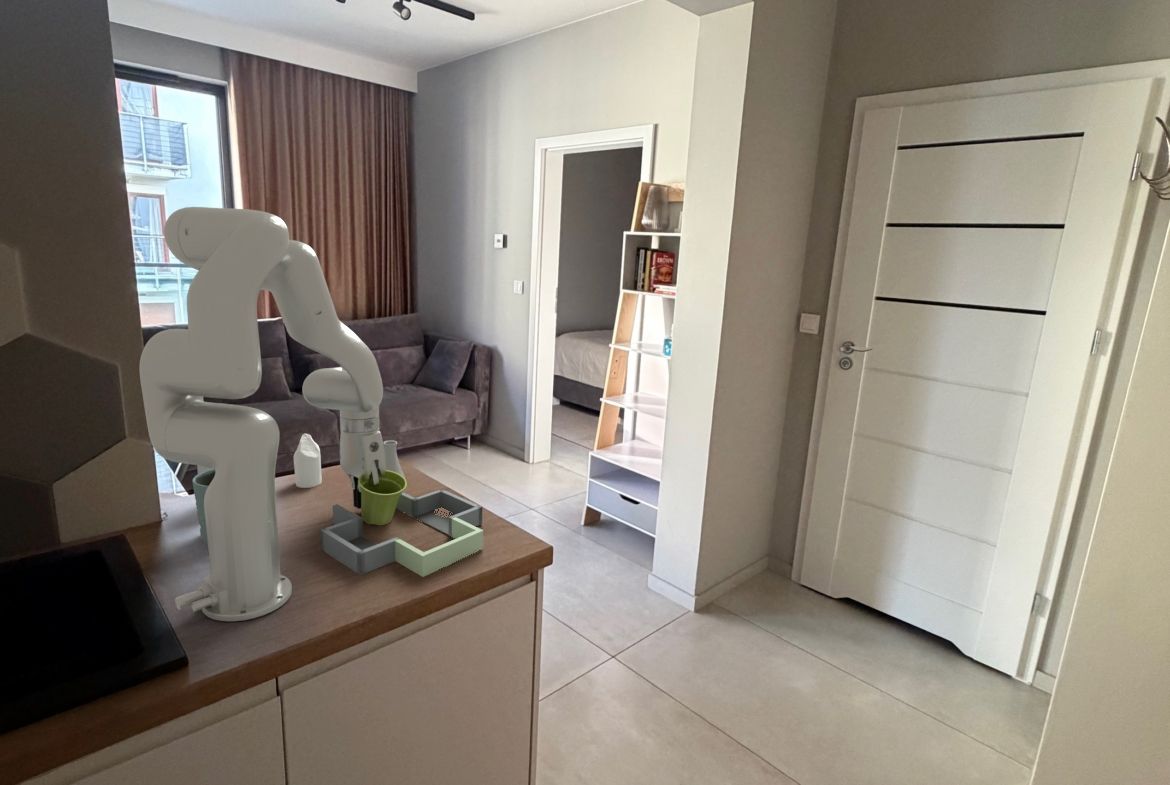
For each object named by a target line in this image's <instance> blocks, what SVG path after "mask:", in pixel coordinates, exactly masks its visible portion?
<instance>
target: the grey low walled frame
mask: <svg viewBox="0 0 1170 785" xmlns="http://www.w3.org/2000/svg"><path fill="white" fill-rule="evenodd" d="M441 507H442V508H444V509H446V510H448V511H450V512H449V515H450V513H451V512H452V513H453V514H452V513H451V515H452V516H451V515H450V516H449V515H448V516H449V517H447V518H446V517H445V516H444V517H445V518H444V517H441V516H442V515H440V516H438V515H439V514H438V515H435V514H437V513H438V511H439V509H438V508H441ZM397 509H398V510H397ZM435 509H438V511H437V513H436V511H435ZM395 510H397V511H399V510H400V511H399V512H401V511H402V512H401V513H403V512H405V513H406V514H405V513H404V514H405V515H407V514H408V516H409V515H410V516H409V517H411V516H412V517H411V518H413V517H414V518H413V519H415V518H416V519H415V520H417V519H418V520H417V521H419V520H420V521H419V522H421V521H422V522H423V523H422V522H421V523H422V524H424V523H425V524H424V525H426V524H427V525H426V526H428V525H429V527H430V526H431V527H430V528H432V527H433V528H432V529H434V528H435V529H434V530H436V529H437V531H438V530H439V531H438V532H440V531H441V532H440V533H442V532H443V533H442V534H444V533H445V534H444V535H446V534H447V535H446V536H448V535H449V536H448V537H450V536H451V538H452V537H453V540H449V541H447V542H445V543H443V544H441V545H438V546H435V547H433V548H431V549H428V550H426V551H423V550H420V549H419V548H417V547H415V546H413V545H411V544H410V543H408V542H406V541H405V540H402V539H401V538H399V537H397V536H396V537H393V538H391V539H388V540H385V541H383V542H380V543H376V542H375V541H373V540H371V539H369V538H368V537H366V536H365V535H364V534H363V533H364V530H363V528H364V525H363V522H364V521H363V519H362V517H361V516H359V515H357V514H356V513H355V512H354V513H353V512H352V511H350V510H348V509H347V508H345V507H343V506H341V505H340V504H337V503H336V504H333V505H332V525H331V526H330V525H329V526H327V527H325V528H321V529H320V530H319V534H320V536H319V537H320V550H321V551H322V552H324V553H326V554H327V555H329V556H330V557H331V558H333V559H335V560H336V561H338V562H340V563H341V564H342V565H344V566H346V567H347V568H348V569H350V570H352V571H353V572H355V573H356V574H358V575H359V576H363V575H365V574H367V573H369V572H372V571H375V570H377V569H379V568H382V567H383V566H386V565H388V564H391V563H394V562H396V563H398V564H400V565H402V566H403V567H405V568H407V569H408V570H410V571H412V572H413V573H415V574H417V575H419V576H420V577H422V578H425V577H427V576H428V575H431V574H433V573H435V572H437V571H439V569H440V570H441V568H442V569H444V568H446V567H448V566H450V565H452V563H453V564H454V562H455V563H457V562H459V561H461V560H463V559H462V558H464V557H466V556H468V555H470V556H472V555H474V554H476V553H475V552H477V551H479V550H481V549H483V550H484V529H481V528H480V527H479V526H478V525H480V526H482V525H483V506H481V505H479V504H478V503H474V502H473V501H470V500H468V499H466V498H463V497H461V496H459V495H456V494H455V493H452V492H450V491H447V490H445V489H442V488H441V489H438V490H435V491H433V492H428V493H426V494H423V495H420V496H418V497H414V496H412V495H410V494H408V493H406V492H404V491H403V492H402V494H401V495H400V497H399V500H398V503H397V506H396V509H395ZM434 511H435V513H434ZM441 512H442V511H441ZM444 513H445V512H444ZM440 514H441V513H440ZM446 514H447V513H446ZM443 515H444V514H443ZM446 516H447V515H446ZM481 524H482V525H481ZM476 526H478V527H476ZM454 538H455V539H454ZM481 551H482V550H481ZM479 552H480V551H479ZM473 553H474V554H473ZM477 553H478V552H477ZM471 554H472V555H471ZM468 557H469V556H468ZM466 558H467V557H466ZM460 559H461V560H460ZM464 559H465V558H464ZM458 560H459V561H458ZM456 561H457V562H456ZM443 567H444V568H443Z"/></svg>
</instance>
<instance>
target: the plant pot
mask: <svg viewBox="0 0 1170 785" xmlns="http://www.w3.org/2000/svg"><path fill="white" fill-rule="evenodd" d="M377 473H379V474H381V473H380V470H377ZM379 474H378V479H379V485H378V486H374V487H370V486H369V481H370V476H369V480H368V481H364V480H363V475H361V476H360V477H359V479H358V483H359V486H360V490H361V509H360V510H361V511H360V517H361V518H362V521H363V522H364V523H366V524H367V525H377V526H383V525H388V524H389V523H390V522H391V521H392V519H393V518H394V514H395V511H396V510H397V509H396V506H397V503H398V500H399V497H400V495H401V494H402V492H404V491H405V490H406V488H407V486H408V484H407V483H408V481H407V480H405V479H406V477H405V478H404V477H403V476H401V475H400V474H398V473H396V472H393V471H389V470H386V472H385V475H384V476H382V475H379Z"/></svg>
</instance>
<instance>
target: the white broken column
mask: <svg viewBox="0 0 1170 785" xmlns="http://www.w3.org/2000/svg"><path fill="white" fill-rule="evenodd" d="M321 460H322V458H321V449H320V447H319V444H317V442H315V441H314V439H313V438H312V435H311V434H309V433H303V434H302V435H301V437H300V440H299V443H298V445H297V448H296V451H294V454H293V468H294V477H295V486H296V487H297V488H300V489H309V488H315V487H318V486H319V485H321V484H322V482H323V481H322V463H321V462H322V461H321Z"/></svg>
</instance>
